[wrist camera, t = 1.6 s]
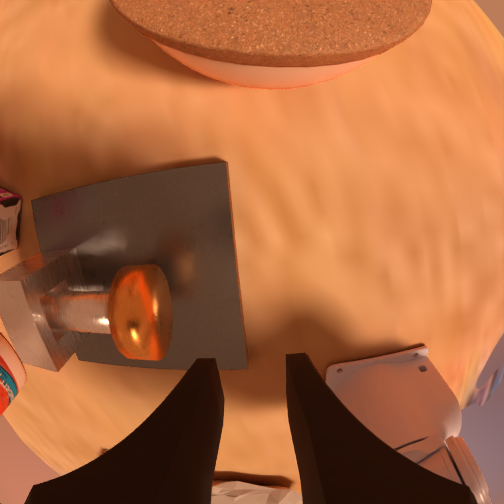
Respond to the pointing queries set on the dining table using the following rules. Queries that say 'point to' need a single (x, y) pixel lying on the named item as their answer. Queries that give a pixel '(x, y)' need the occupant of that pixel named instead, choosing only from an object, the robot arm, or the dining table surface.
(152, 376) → the dining table surface
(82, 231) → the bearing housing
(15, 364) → the fruit juice
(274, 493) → the food container
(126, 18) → the lidded bowl
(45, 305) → the shaft
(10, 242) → the candy bar box
